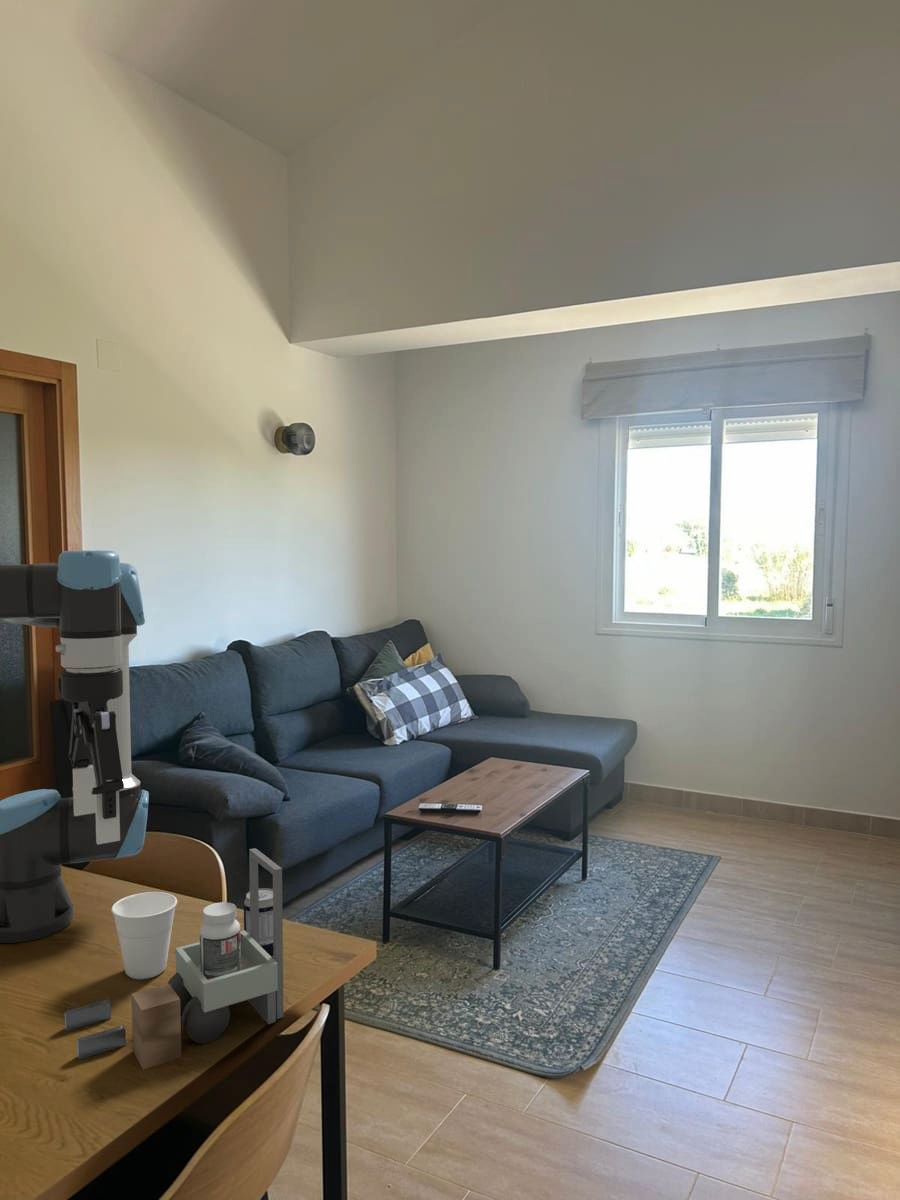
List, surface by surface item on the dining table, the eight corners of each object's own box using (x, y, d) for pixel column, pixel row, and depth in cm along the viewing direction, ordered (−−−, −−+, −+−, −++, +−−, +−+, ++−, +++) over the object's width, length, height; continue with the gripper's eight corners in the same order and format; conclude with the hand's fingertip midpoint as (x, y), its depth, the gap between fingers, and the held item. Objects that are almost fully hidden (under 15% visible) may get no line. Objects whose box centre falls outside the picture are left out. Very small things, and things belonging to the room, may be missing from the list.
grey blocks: (65, 1027, 124) (64, 1011, 123) (109, 1015, 127) (109, 999, 127) (78, 1059, 116) (78, 1042, 116) (125, 1045, 119) (125, 1028, 119)
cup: (158, 989, 134) (156, 919, 133) (99, 983, 136) (98, 914, 135) (189, 959, 144) (188, 894, 143) (135, 953, 146) (133, 889, 145)
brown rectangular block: (170, 1039, 121) (169, 983, 120) (181, 1057, 117) (180, 999, 116) (132, 1051, 118) (131, 993, 118) (143, 1069, 114) (141, 1010, 113)
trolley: (162, 1011, 128) (159, 864, 127) (254, 984, 136) (252, 845, 134) (190, 1053, 118) (187, 893, 116) (287, 1021, 125) (285, 871, 124)
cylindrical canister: (287, 965, 142) (286, 893, 141) (259, 978, 138) (258, 904, 137) (265, 954, 146) (264, 884, 145) (237, 967, 141) (236, 895, 140)
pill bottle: (249, 975, 127) (248, 908, 126) (214, 990, 122) (213, 921, 122) (226, 962, 130) (225, 897, 130) (192, 976, 126) (191, 909, 126)
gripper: (43, 659, 123) (48, 808, 124) (81, 683, 102) (86, 861, 104) (100, 655, 127) (103, 799, 129) (147, 678, 106) (151, 849, 108)
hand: (95, 827), depth 116 cm, fingers open, 13 cm apart
